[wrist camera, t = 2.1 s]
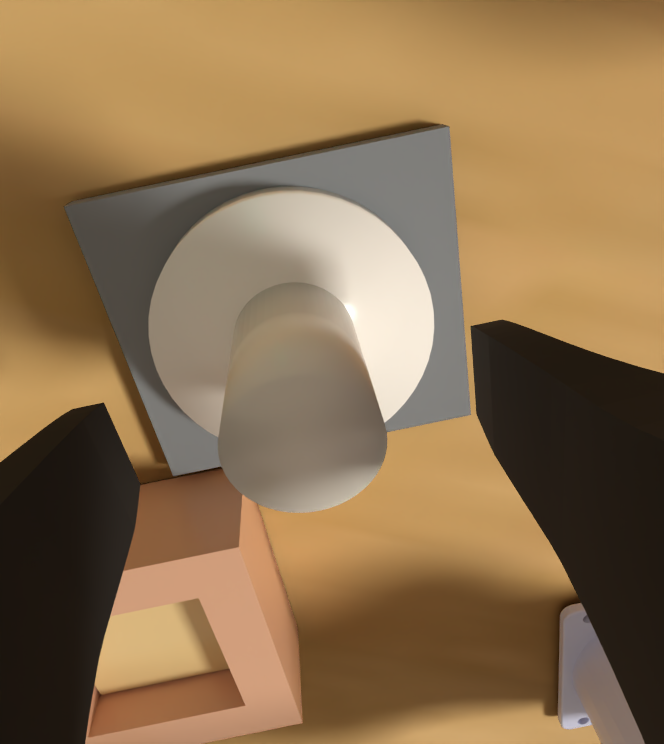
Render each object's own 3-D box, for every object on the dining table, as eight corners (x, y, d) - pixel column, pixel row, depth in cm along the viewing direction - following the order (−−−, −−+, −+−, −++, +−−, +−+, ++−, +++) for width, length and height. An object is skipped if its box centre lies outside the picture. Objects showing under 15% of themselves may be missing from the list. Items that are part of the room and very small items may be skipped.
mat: (442, 124, 13) (449, 126, 13) (464, 404, 17) (470, 414, 17) (72, 201, 14) (64, 206, 13) (176, 463, 17) (173, 476, 17)
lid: (408, 157, 13) (487, 211, 8) (436, 406, 17) (504, 547, 12) (113, 220, 13) (23, 309, 8) (202, 456, 17) (173, 616, 12)
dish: (244, 463, 18) (238, 546, 14) (298, 629, 21) (302, 723, 18) (-9, 515, 18) (-67, 610, 15) (90, 671, 21) (60, 772, 18)
